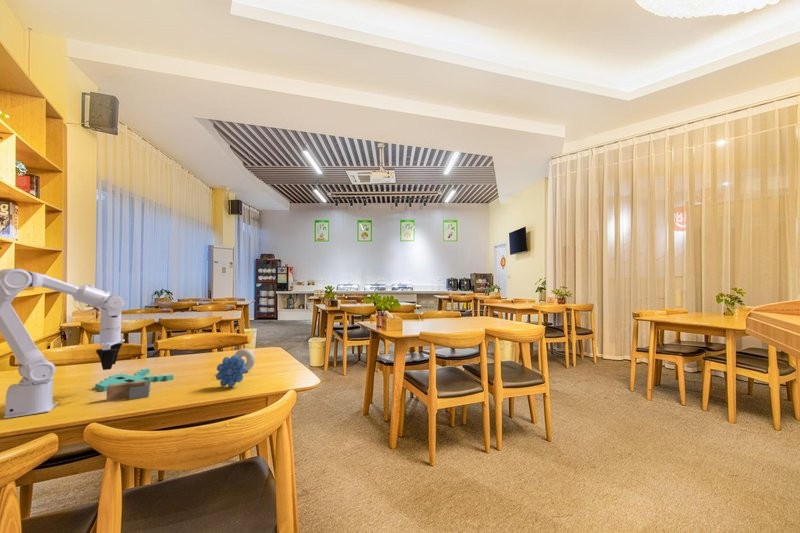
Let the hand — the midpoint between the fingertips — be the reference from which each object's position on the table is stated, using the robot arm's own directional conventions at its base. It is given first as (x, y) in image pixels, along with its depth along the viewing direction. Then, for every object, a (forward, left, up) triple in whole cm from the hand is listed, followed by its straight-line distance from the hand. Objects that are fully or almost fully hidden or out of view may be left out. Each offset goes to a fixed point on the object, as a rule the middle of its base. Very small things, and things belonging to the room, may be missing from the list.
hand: (109, 366), depth 120 cm
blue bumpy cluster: (+38, -13, -10) cm, 41 cm away
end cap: (+9, -8, -9) cm, 15 cm away
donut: (+45, +6, -10) cm, 46 cm away
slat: (+6, -8, -10) cm, 14 cm away
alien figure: (+5, +12, -10) cm, 17 cm away
